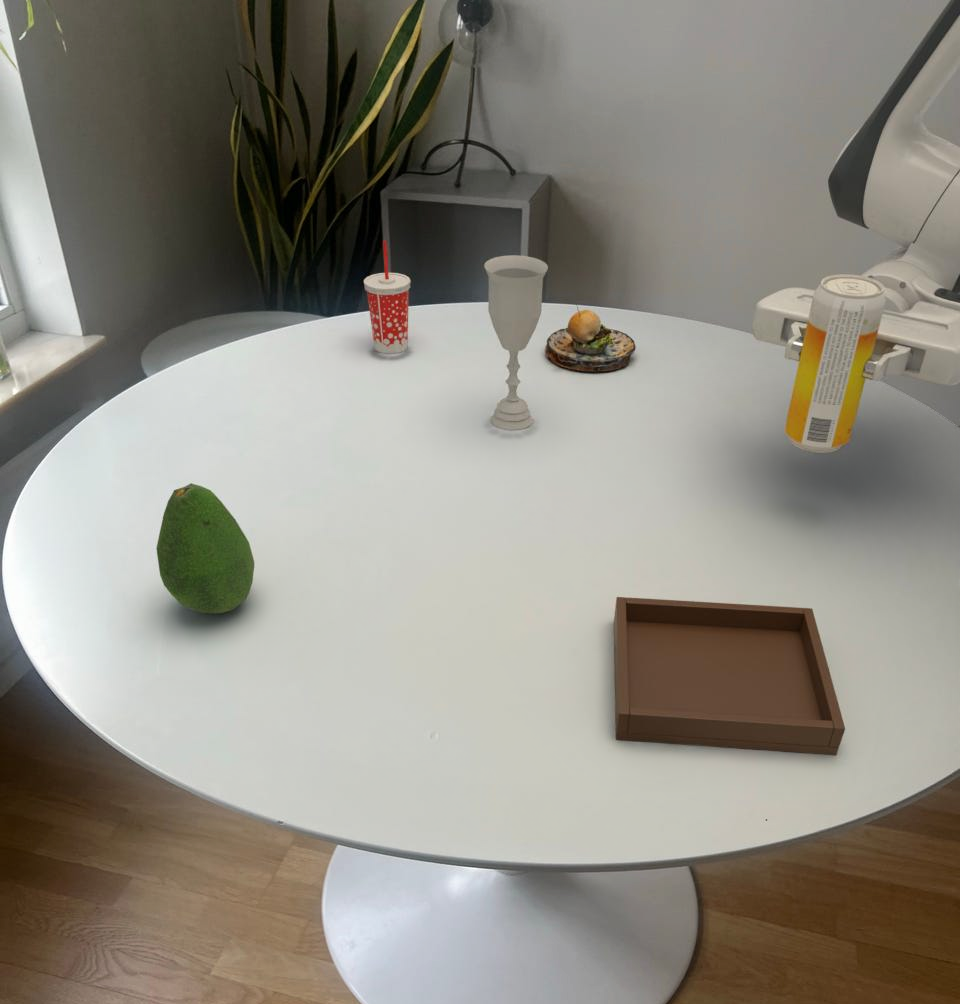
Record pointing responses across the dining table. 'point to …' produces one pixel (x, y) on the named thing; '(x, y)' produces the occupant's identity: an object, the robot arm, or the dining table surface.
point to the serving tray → (723, 676)
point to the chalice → (514, 324)
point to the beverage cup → (388, 308)
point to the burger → (589, 345)
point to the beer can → (834, 361)
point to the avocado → (203, 552)
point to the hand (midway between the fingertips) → (831, 361)
